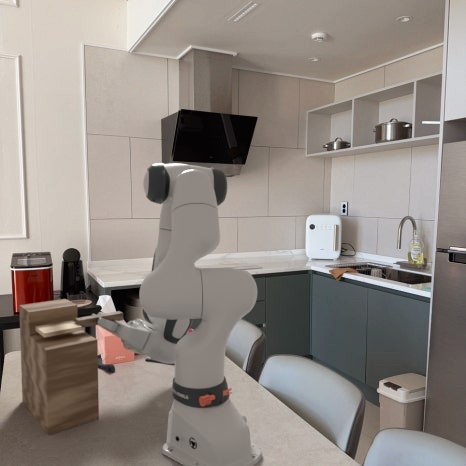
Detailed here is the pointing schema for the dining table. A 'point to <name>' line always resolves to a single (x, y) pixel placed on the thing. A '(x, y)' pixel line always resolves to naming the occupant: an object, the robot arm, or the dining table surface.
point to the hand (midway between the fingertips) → (95, 318)
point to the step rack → (58, 368)
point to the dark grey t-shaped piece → (105, 365)
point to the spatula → (76, 324)
